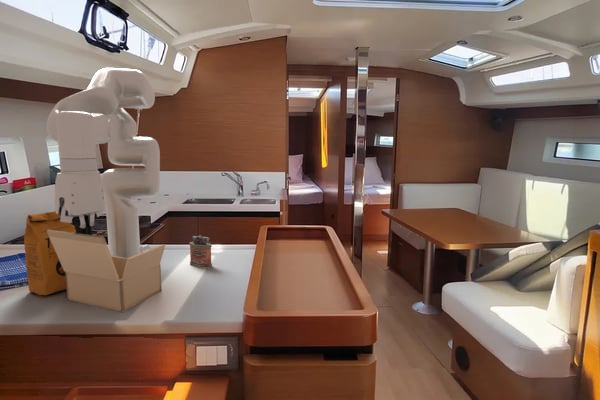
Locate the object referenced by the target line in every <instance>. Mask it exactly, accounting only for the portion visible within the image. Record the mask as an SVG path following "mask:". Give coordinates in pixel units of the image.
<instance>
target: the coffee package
mask: <svg viewBox="0 0 600 400" xmlns="http://www.w3.org/2000/svg"><path fill="white" fill-rule="evenodd" d="M60 219H61V215H57V214H56V211H54V210H53V211H47V212H40V213H33V214H32V213H31V214H28V215H27V216H26V220H25V221H26V222H25V226H26V227H25V231H24V235H23V236H24V238H23V239H24V240H23V242H24V253H25V264H26V265H25V266H26V267H25V268H26V276H27V281H28V282H27V284H28V292H30V293H35V294H36V295H39V296H48V295H51V294H55V293H58V292H61V291H65V290H66V291H67V286H66V275H65V271H64V270H63V267H62V265H61V263H60V261H59V258H58V256H57V254H56V251H55V249H54V247H53V244H52V242H51V240H50V238H49V235H48V233H47V230H57V231H64V232H72V233H76V228H75V227H73V225H72V224H71V223H65V222H61V221H60Z"/></svg>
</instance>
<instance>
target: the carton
mask: <svg viewBox="0 0 600 400" xmlns="http://www.w3.org/2000/svg"><path fill="white" fill-rule="evenodd" d="M165 247H166V244H160V245H158V246H156V247H154V248H153V247H152V248H149V249H148V250H146V251H143V252H142V253H140V254H137V255H135V256H132V257H129V258H124V257H117V256H111V257H112V260H113V263H114V265H115V268H116V271H117V274H118V276H119V279H120V280H118V281H115V280H109V279H103V278H98V277H92V276H87V275H81V274H76V273H70V272H65V275H66V286H67V289H66V294H67V296H66V297H67V301H69V302H72V303H73V302H74V303H78V304H83V305H86V306H87V305H88V306H92V307H97V308H101V309H106V310H110V311H115V312H121V313H124V312H126V311H128V310H130V309H131V308H133V307H135V306H137V305H138V304H140V303H142V302H144V301H146V300H148V299H149V298H151V297H153V296H155V295H157V294H159V293H161V292H162V289H163V288H162V269H161V267H162V266H161V261H162V259H163V255H164V250H165Z"/></svg>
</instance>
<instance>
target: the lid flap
mask: <svg viewBox="0 0 600 400" xmlns="http://www.w3.org/2000/svg"><path fill="white" fill-rule="evenodd" d="M47 233H48V235H49V238H50V240H51V242H52V244H53V247H54V249H55V251H56V254H57V256H58V258H59V261H60V263H61V265H62V267H63V270H64V271H65V272H70V273H76V274H81V275H87V276H92V277H98V278H103V279H109V280H115V281H118V280H120V279H119V276H118V274H117V271H116V268H115V265H114V263H113V260H112V257H111V254H110V252H109V246H108V242H107V241H106V240H107V239H106V238H105V236H102V235H94V234H92V235H87V234H79V233H72V232H64V231H57V230H47Z"/></svg>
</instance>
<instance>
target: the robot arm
mask: <svg viewBox="0 0 600 400" xmlns="http://www.w3.org/2000/svg"><path fill="white" fill-rule="evenodd" d="M155 94H156V93H155V90H154V87H153V85H152V84H151V82H150V80H149V79H148V77H147V76H146V75H145V74H144V73H143V72H142V71H140V70H138V69H131V68H116V67H115V68H114V67H105V68H102V69H99V70H98V71H97V72H95V74H94V76H93V77H92V79H91V81H90V83H89V85H88V86H87V88H86V89H84V90H81V91H79V92H76V93H74V94H71V95H69V96H66V97H64V98H62V99H60V100H59V101H58V102H57V103H55V105H54V107H53V108H52V109H51V111H50V112H49V114H48V117H47V121H46V130H47V134H48V135H49V137H50V139H52V140H53V141H54V142H56V143H57V146H58V158H59V169H60V172H57V173H56V177H55V184H54V209H55V211H56V214H57V215H61V219H60V221H61V222H65V223H71V224H72V225H73V227H74V228H75V230H76V233H79V234H87V235H93V231H92V230H93V229H92V228H93V226H94V224H95V221H96V219H97V218H98V217H100V216H102V215H103V214H104V209H105V213H106V214H105V215H106V225H107V226H106V228H107V241H108V242H107V246H108V249H109V252H110V254H111V256H117V257H124V258H129V257H132V256H135V255H137V254H140V253H142V252H145V251H148V250H150V245H149V244H144V245H140V244H141V242H140V241H141V240H140V224H139V221H140V219H139V211H138V207H137V206H136V205H135V203H134V202H133V200H131V198H153V197H155V196H157V195H158V193H159V192H160V180H161V179H160V178H161V177H160V176H161V175H160V174H161V173H160V172H161V169H160V168H161V163H160V162H161V155H160V154H161V152H160V151H161V150H160V145H159V143H158V141H157V140H156V139H155V138H153V137H149V136H137V135H138V133H137V130H138V129H137V127H138V125H137V122H136V120H134V118H133V117H132V116H131V115H130V113H128V112H127V111H126V110H125V109H151V108H152V107H153V106H154V104H155V100H156V96H155ZM106 143H107V157H108V161H109V162H110V163H111V164H113V165H116V166H138V167H139V166H143V167H144V168H131V167H129V168H128V167H127V168H126V167H125V168H124V167H123V168H122V167H121V168H119V167H117V168H109V169H107V170H105V171H104V172H103V173H102V174H101V172H100V171H99V170H98V166H99V165H100V161H99V160H98V155H97V154H98V152H97V145H102V144H106Z"/></svg>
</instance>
